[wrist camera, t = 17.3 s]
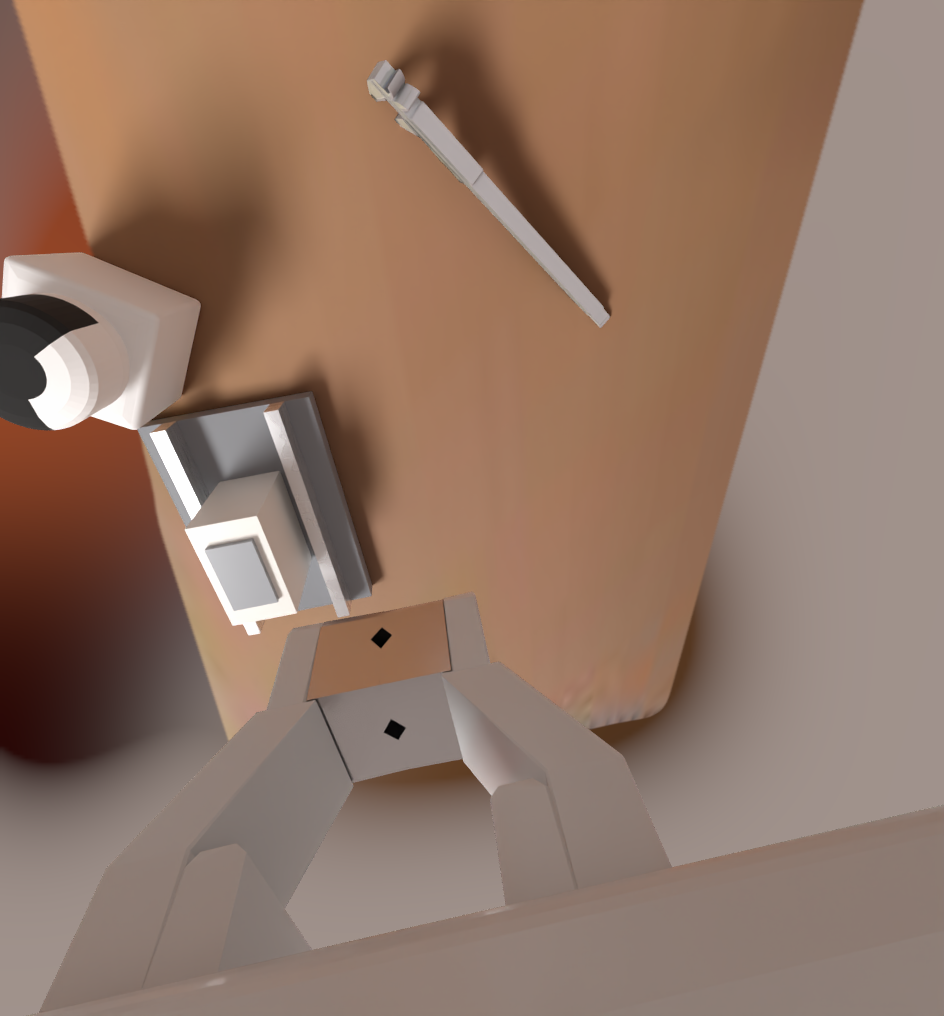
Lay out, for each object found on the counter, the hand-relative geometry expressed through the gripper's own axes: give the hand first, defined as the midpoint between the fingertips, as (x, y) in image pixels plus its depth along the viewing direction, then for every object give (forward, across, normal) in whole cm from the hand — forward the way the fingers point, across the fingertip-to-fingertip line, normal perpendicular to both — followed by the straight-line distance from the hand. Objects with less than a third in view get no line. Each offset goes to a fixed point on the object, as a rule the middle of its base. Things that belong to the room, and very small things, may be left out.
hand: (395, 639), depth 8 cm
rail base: (+31, +13, +12) cm, 36 cm away
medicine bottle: (+31, +17, -3) cm, 36 cm away
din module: (+30, +13, +12) cm, 34 cm away
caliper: (+32, -8, -6) cm, 33 cm away
